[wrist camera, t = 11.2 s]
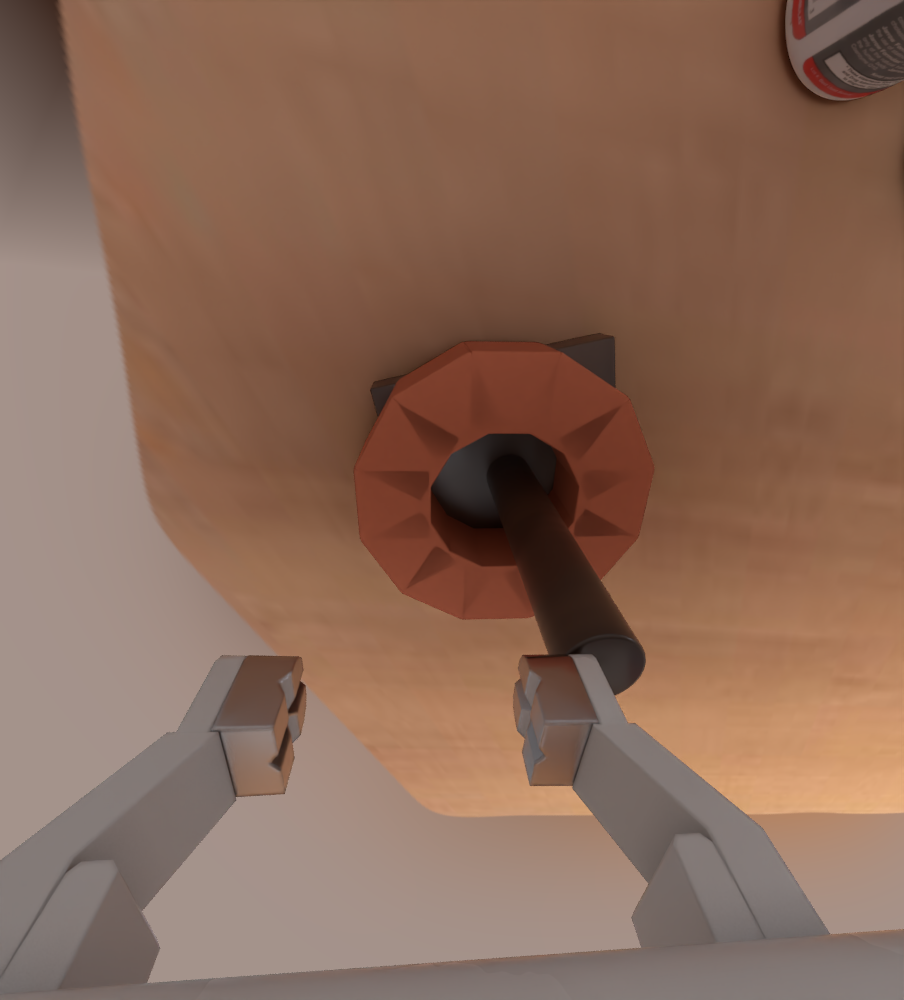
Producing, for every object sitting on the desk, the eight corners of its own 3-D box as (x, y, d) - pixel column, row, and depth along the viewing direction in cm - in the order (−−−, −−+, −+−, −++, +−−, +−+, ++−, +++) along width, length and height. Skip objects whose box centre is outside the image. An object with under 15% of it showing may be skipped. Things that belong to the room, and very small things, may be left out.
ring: (640, 343, 17) (683, 352, 14) (595, 574, 22) (620, 616, 19) (357, 339, 16) (341, 349, 14) (375, 577, 21) (367, 622, 18)
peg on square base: (600, 332, 18) (891, 402, 7) (607, 529, 23) (790, 762, 12) (373, 381, 18) (303, 524, 7) (424, 566, 23) (429, 830, 12)
